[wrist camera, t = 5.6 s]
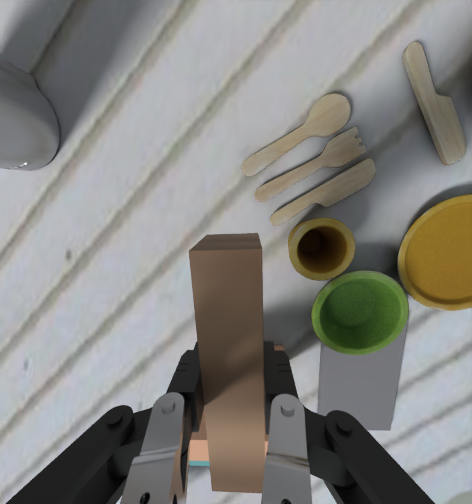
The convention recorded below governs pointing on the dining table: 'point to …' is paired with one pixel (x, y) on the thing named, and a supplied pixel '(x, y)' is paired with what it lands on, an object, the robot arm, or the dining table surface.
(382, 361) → the rubber mat
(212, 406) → the walnut stick
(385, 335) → the tableware set
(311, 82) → the dining table surface
